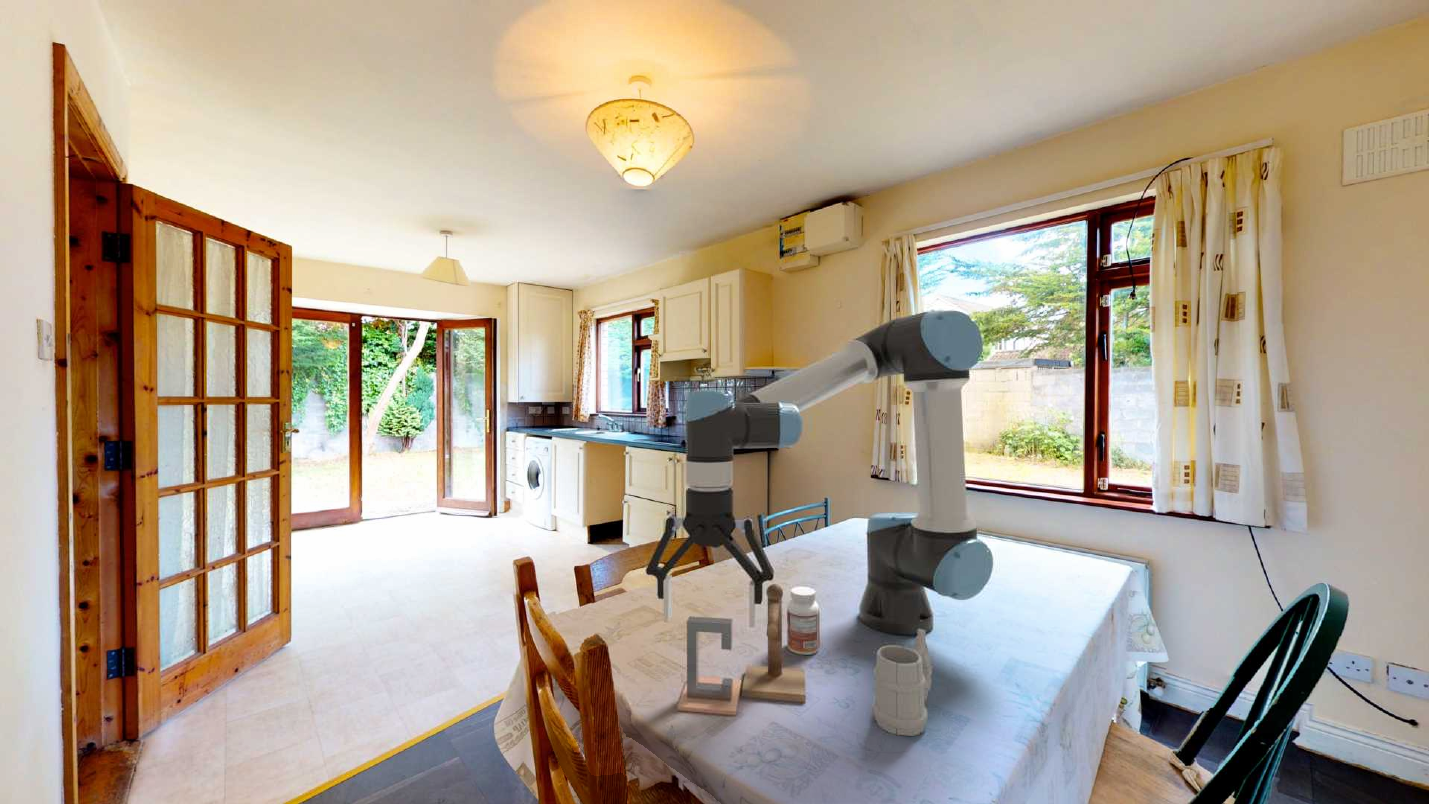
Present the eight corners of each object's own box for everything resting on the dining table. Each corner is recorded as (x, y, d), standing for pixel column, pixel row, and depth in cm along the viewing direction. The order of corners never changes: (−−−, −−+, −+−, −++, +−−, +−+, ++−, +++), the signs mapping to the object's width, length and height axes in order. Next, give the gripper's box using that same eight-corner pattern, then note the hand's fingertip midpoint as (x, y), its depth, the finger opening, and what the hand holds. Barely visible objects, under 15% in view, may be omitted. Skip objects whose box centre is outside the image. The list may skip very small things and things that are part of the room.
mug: (861, 718, 78) (861, 638, 78) (906, 692, 85) (906, 618, 85) (907, 745, 72) (907, 657, 72) (952, 714, 79) (952, 634, 79)
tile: (741, 683, 87) (741, 680, 87) (735, 715, 79) (735, 711, 79) (688, 679, 89) (688, 676, 89) (677, 710, 80) (677, 706, 80)
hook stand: (746, 672, 91) (746, 579, 91) (804, 676, 90) (804, 582, 90) (738, 719, 78) (738, 610, 78) (806, 725, 76) (806, 614, 76)
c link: (732, 694, 83) (732, 618, 83) (731, 701, 81) (730, 624, 81) (689, 690, 84) (689, 616, 84) (686, 697, 82) (686, 621, 82)
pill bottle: (796, 638, 105) (795, 582, 105) (824, 646, 101) (824, 589, 101) (781, 650, 100) (781, 592, 100) (811, 659, 96) (811, 598, 96)
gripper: (788, 485, 85) (789, 616, 85) (640, 482, 89) (640, 607, 88) (788, 492, 77) (788, 636, 77) (626, 489, 81) (626, 626, 81)
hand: (709, 621), depth 83 cm, fingers open, 13 cm apart
